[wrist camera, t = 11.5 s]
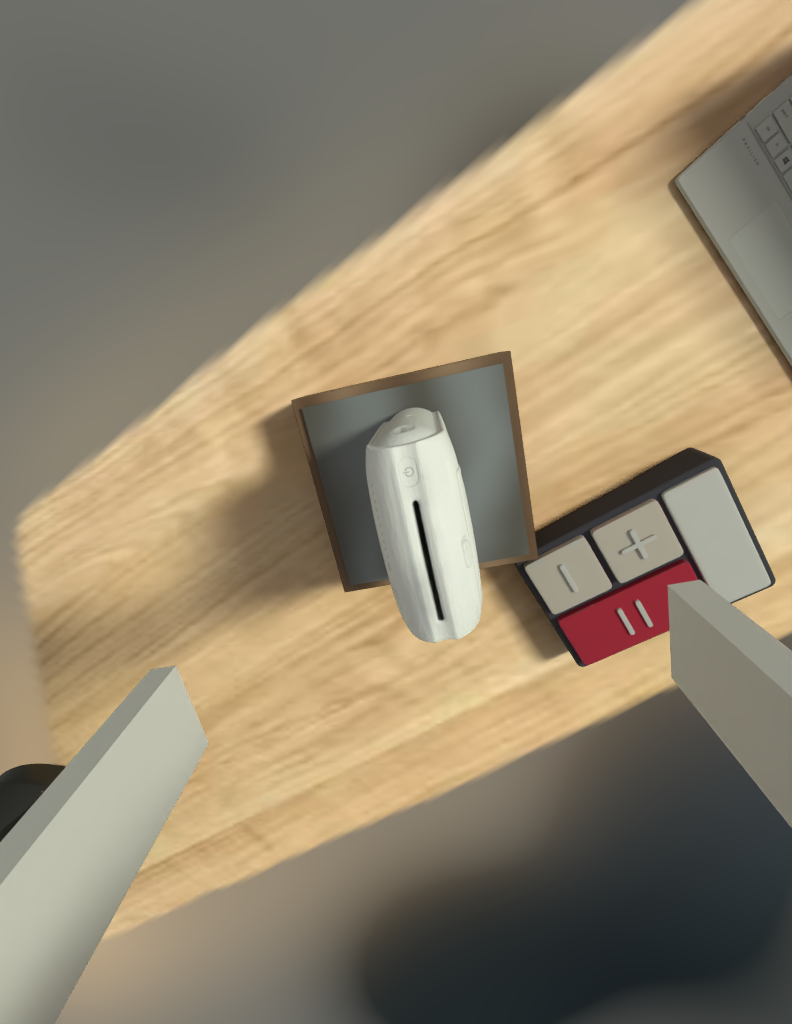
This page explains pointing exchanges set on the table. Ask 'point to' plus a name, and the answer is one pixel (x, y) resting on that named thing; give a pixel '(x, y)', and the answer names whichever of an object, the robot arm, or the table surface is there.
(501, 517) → the mirror
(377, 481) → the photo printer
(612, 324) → the table surface
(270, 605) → the table surface
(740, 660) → the robot arm
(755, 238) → the laptop
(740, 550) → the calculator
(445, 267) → the table surface
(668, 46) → the table surface
